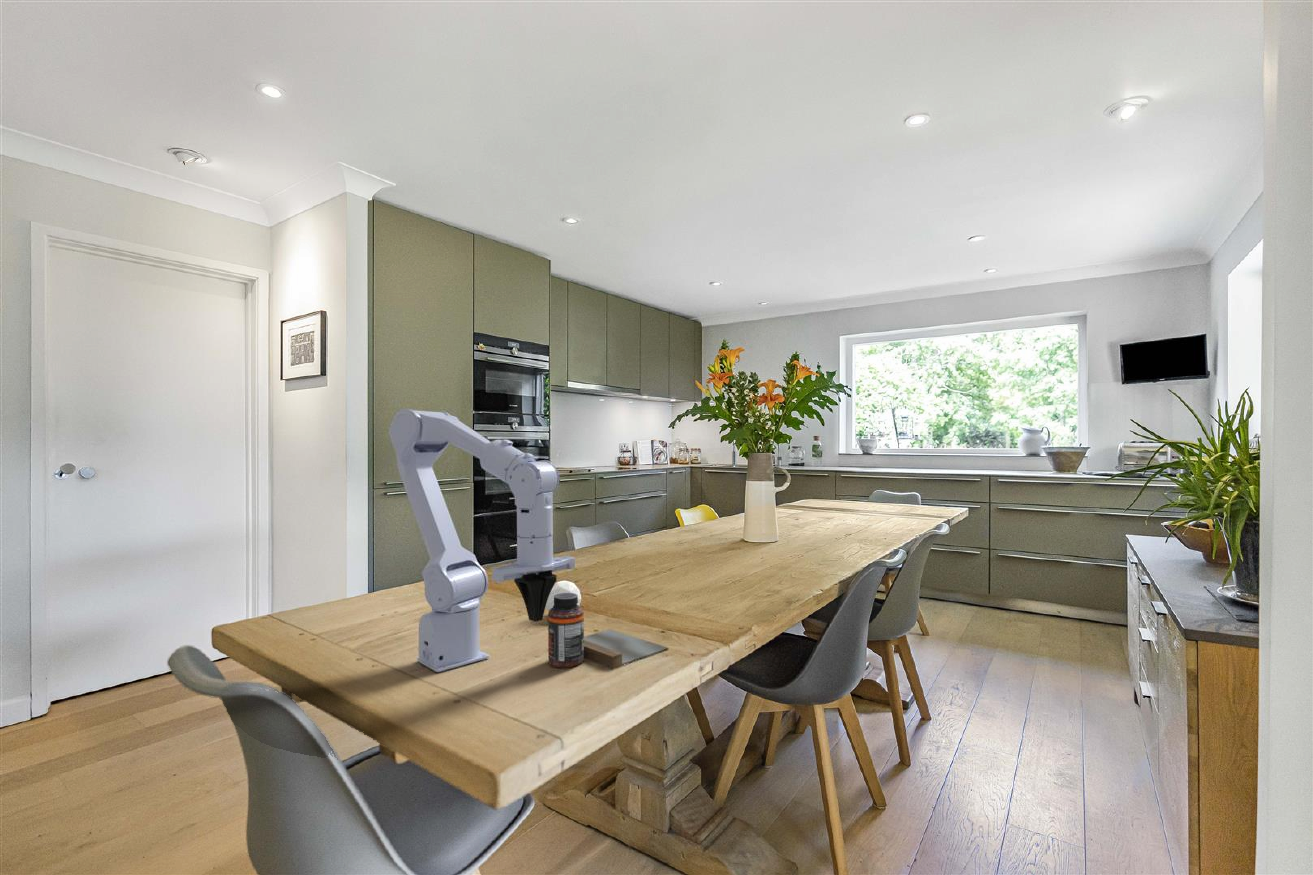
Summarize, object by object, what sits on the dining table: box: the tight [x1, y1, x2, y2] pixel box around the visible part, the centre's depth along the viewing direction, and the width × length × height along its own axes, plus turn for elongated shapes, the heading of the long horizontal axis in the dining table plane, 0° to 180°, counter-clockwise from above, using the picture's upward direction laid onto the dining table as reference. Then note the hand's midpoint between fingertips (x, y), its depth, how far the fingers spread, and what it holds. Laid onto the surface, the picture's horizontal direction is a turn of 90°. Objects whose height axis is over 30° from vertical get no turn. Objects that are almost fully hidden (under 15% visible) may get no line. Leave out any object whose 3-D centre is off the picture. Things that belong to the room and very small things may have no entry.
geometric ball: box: [545, 580, 582, 612], centre depth 128 cm, size 8×8×8 cm
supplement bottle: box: [547, 593, 585, 669], centre depth 100 cm, size 6×6×11 cm
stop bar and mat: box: [584, 629, 669, 670], centre depth 107 cm, size 13×16×2 cm
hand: (535, 619), depth 96 cm, fingers closed
